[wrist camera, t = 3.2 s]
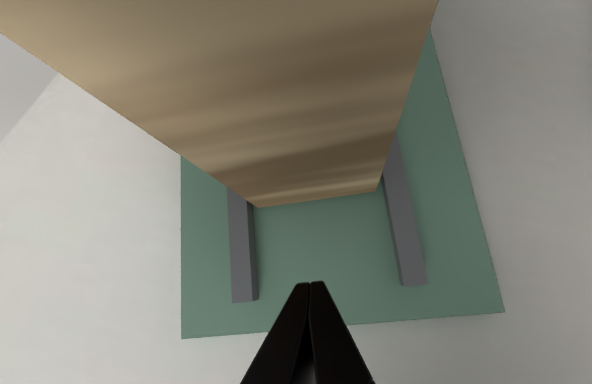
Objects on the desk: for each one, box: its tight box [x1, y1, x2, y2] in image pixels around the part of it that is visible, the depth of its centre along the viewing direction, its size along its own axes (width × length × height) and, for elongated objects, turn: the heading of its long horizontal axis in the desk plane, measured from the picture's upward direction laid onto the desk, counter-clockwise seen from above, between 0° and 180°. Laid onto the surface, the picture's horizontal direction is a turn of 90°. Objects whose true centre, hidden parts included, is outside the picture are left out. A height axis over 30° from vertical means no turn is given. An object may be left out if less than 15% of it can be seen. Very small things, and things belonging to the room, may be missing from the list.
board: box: [181, 28, 505, 339], centre depth 17 cm, size 24×15×2 cm, turn 6°
